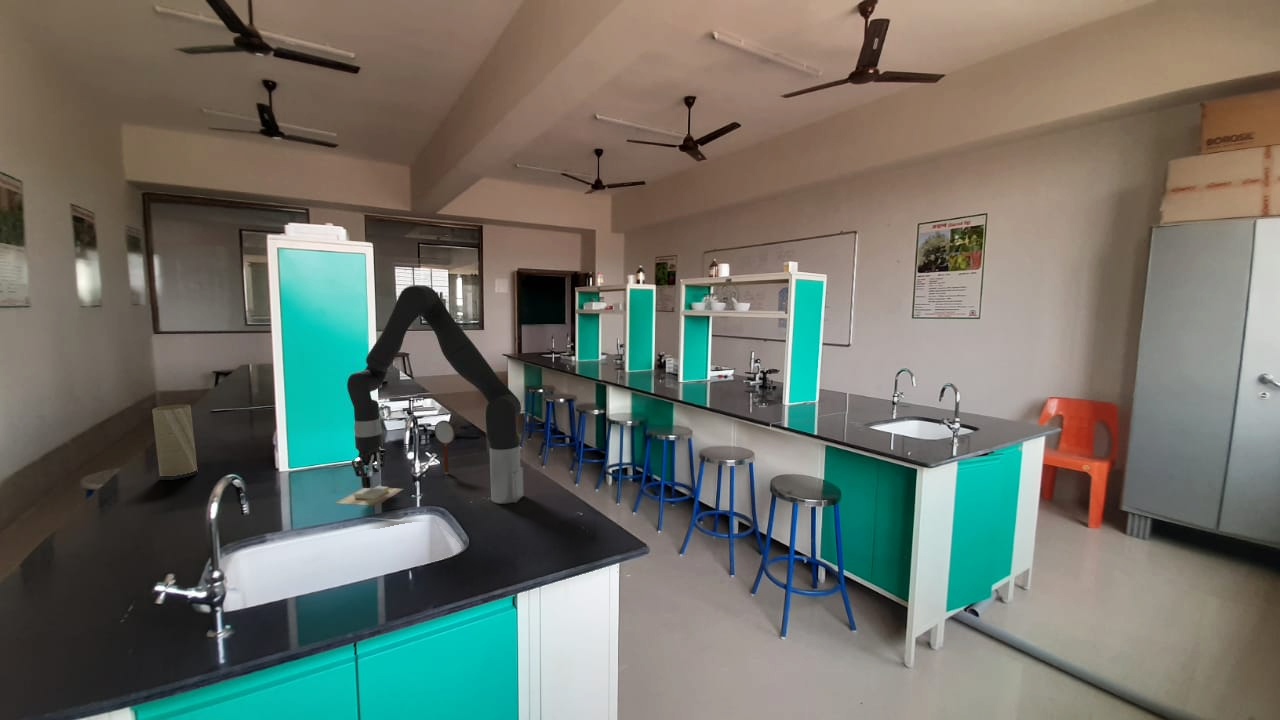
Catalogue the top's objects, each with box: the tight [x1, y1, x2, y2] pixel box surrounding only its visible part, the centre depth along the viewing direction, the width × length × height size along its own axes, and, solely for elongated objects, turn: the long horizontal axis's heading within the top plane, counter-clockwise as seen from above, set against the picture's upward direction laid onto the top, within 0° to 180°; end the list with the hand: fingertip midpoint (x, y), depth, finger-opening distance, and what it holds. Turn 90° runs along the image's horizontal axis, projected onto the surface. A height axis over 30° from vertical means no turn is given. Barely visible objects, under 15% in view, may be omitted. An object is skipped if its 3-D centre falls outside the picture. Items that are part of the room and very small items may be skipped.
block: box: [360, 471, 382, 489], centre depth 165 cm, size 4×4×4 cm
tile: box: [353, 485, 390, 500], centre depth 166 cm, size 7×2×7 cm
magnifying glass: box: [434, 419, 457, 475], centre depth 185 cm, size 9×2×20 cm, turn 71°
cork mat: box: [335, 487, 404, 507], centre depth 165 cm, size 14×14×1 cm
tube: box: [151, 404, 198, 477], centre depth 183 cm, size 10×10×25 cm
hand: (371, 485), depth 166 cm, fingers closed on block, 4 cm apart
